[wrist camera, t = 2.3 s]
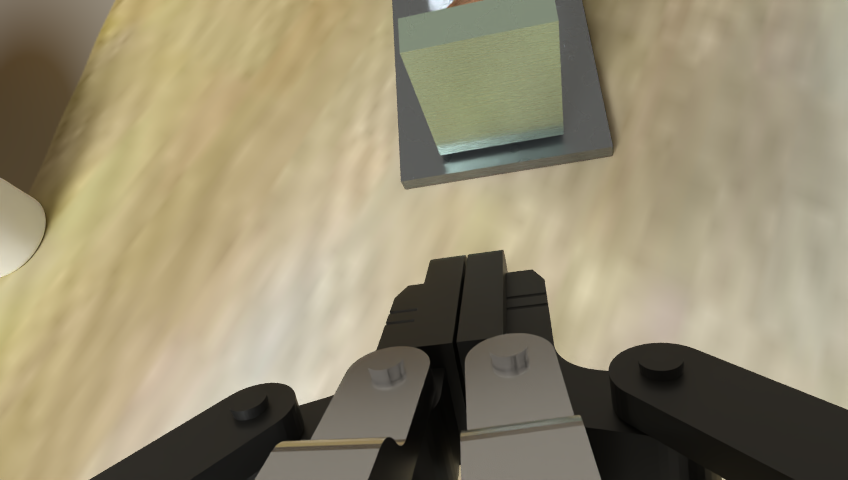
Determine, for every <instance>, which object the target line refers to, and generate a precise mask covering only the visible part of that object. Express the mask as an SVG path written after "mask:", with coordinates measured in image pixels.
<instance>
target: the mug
mask: <svg viewBox="0 0 848 480" xmlns="http://www.w3.org/2000/svg"><path fill="white" fill-rule="evenodd" d="M45 226H46V217H45V212H44V210H43V207H42V206H41V204H40V203H39V202H38V201H37V200H36V199H34V198H33V197H31V196H29V195H28V194H26V193H24V192H23V191H21V190H20V189H18V188H16V187H15V186H13V185H12V184H10V183H9V182H7V181H6V180H4V179H2V178H0V277H3V276H6V275H8V274H10V273H12V272H14V271H16V270H17V269H19V268H20V267H21V266H22V265H24V264H25V263H26V262H27V261H28V260H29V259H30V258H31V256H32V255H33V254H34V253H35V251H36V250H37V248H38V246H39V245H40V243H41V240H42V238H43V235H44V232H45Z"/></svg>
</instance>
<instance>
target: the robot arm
mask: <svg viewBox="0 0 848 480" xmlns="http://www.w3.org/2000/svg"><path fill="white" fill-rule="evenodd" d="M459 465H461V480H722V478H724V479H726V480H848V410H847V409H844V408H842V407H839V406H837V405H834V404H832V403H829V402H827V401H824V400H822V399H819V398H817V397H814V396H812V395H809V394H807V393H804V392H802V391H799V390H797V389H794V388H791V387H789V386H786V385H784V384H781V383H779V382H776V381H774V380H771V379H769V378H766V377H764V376H761V375H759V374H756V373H754V372H751V371H749V370H746V369H744V368H741V367H739V366H736V365H734V364H731V363H729V362H726V361H724V360H721V359H719V358H716V357H714V356H711V355H709V354H706V353H704V352H701V351H699V350H696V349H693V348H690V347H687V346H683V345H679V344H671V343H650V344H643V345H639V346H635V347H632V348H629V349H627V350H625V351H623V352H621V353H620V354H618V355H617V356H616V357H615V358H614V359H613V360H612V362H611V363H610V366H609V371H603V370H594V369H587V368H583V367H579V366H577V365H574V364H571V363H569V362H567V361H566V360H564V359H563V358H562V357H561V356H560V355H559V354H558V353H557V352H556V350H555V347H554V342H553V335H552V328H551V321H550V314H549V308H548V301H547V294H546V287H545V280H544V279H543V278H542V277H541V276H540V275H538V274H537V273H536V272H535V271H533V270H525V271H517V272H509V273H508V272H507V265H506V260H505V255H504V251H503V250H499V251H491V252H484V253H477V254H469V255H468V257H466V255H463V256H456V257H448V258H441V259H434V260H430V263H429V267H428V271H427V275H426V278H425V282H424V284H418V285H410V286H408V287H407V288H405V289H404V290H403V291H402V292H401V293H400V294H399V295H398V296H397V297H396V298H395V299H394V302H393V304H392V307H391V310H390V314H389V316H388V319H387V322H386V325H385V327H384V330H383V333H382V336H381V339H380V342H379V344H378V347H377V350H376V351H374V352H372V353H369V354H367V355H365V356H363V357H362V358H360V359H358V360H357V361H356V362H355V363H353V364H352V365H351V366H350V367H349V369H348V370H347V372H346V374H345V376H344V377H343V379H342V381H341V383H340V385H339V387H338V389H337V391H336V393H335V394H334V395H332V396H330V397H327V398H323V399H320V400H317V401H313V402H310V403H307V404H303V405H300V406H299V405H298V402H297V399H296V395H295V392H294V391H293V389H292V388H291V387H289V386H287V385H285V384H280V383H265V384H259V385H255V386H251V387H248V388H245V389H243V390H241V391H238V392H236V393H234V394H232V395H231V396H229V397H227V398H225V399H224V400H222V401H220V402H219V403H217V404H215V405H214V406H212V407H210V408H209V409H207V410H205V411H204V412H202V413H200V414H199V415H197V416H195V417H194V418H192V419H190V420H189V421H187V422H185V423H184V424H182V425H180V426H179V427H177V428H175V429H174V430H172V431H170V432H168V433H167V434H165V435H163V436H162V437H160V438H158V439H157V440H155V441H153V442H152V443H150V444H148V445H147V446H145V447H143V448H142V449H140V450H138V451H137V452H135V453H133V454H132V455H130V456H128V457H127V458H125V459H123V460H122V461H120V462H118V463H117V464H115V465H113V466H112V467H110V468H108V469H107V470H105V471H103V472H102V473H100V474H98V475H96V476H95V477H93V478H91V479H90V480H458V475H459ZM721 477H722V478H721Z"/></svg>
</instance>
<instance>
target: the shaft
mask: <svg viewBox="0 0 848 480" xmlns="http://www.w3.org/2000/svg"><path fill="white" fill-rule="evenodd" d="M398 30H399V49H400V55H401V57H402V60H403V63H404V65H405V68H406V70H407V73H408V75H409V78H410V80H411V83H412V85H413V88H414V90H415V93H416V95H417V98H418V101H419V103H420V106H421V108H422V111H423V113H424V116H425V118H426V121H427V123H428V126H429V128H430V131H431V133H432V136H433V138H434V141H435V144H436V146H437V149H438V151H439V154H440V155H445V154H451V153H457V152H463V151H469V150H475V149H480V148H486V147H492V146H498V145H504V144H510V143H516V142H521V141H527V140H533V139H539V138H545V137H551V136H557V135H563V134H564V129H563V107H562V85H561V63H560V41H559V20H558V15H557V10H556V4H555V0H453V2H452V3H451V4H450V5H449V6H448V7H447V8H445V9H440V10H436V11H431V12H426V13H422V14H417V15H412V16H408V17H403V18H398Z"/></svg>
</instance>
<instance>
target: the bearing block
mask: <svg viewBox="0 0 848 480" xmlns="http://www.w3.org/2000/svg"><path fill="white" fill-rule="evenodd" d="M452 2H453V0H392V5H393V26H394V46H395V67H396V88H397V108H398V129H399V150H400V170H401V182H402V184H403V186H404V188H405V189H411V188H418V187H424V186H430V185H436V184H442V183H448V182H455V181H461V180H467V179H473V178H479V177H485V176H492V175H498V174H504V173H510V172H516V171H522V170H529V169H535V168H541V167H547V166H553V165H559V164H566V163H572V162H578V161H584V160H590V159H596V158H603V157H609V156H612V152H613V145H612V140H611V135H610V130H609V126H608V121H607V116H606V111H605V107H604V102H603V97H602V93H601V88H600V83H599V78H598V74H597V69H596V64H595V59H594V55H593V50H592V45H591V41H590V36H589V31H588V26H587V22H586V17H585V12H584V7H583V3H582V0H555V4H556V10H557V15H558V20H559V41H560V63H561V85H562V107H563V129H564V134H563V135H557V136H551V137H545V138H539V139H533V140H527V141H521V142H516V143H510V144H504V145H498V146H492V147H486V148H480V149H475V150H469V151H463V152H457V153H451V154H445V155H440V154H439V151H438V149H437V146H436V144H435V141H434V138H433V136H432V133H431V131H430V128H429V126H428V123H427V121H426V118H425V116H424V113H423V111H422V108H421V106H420V103H419V101H418V98H417V95H416V93H415V90H414V88H413V85H412V83H411V80H410V78H409V75H408V73H407V70H406V68H405V65H404V63H403V60H402V57H401V55H400V49H399V30H398V18H403V17H408V16H412V15H417V14H422V13H426V12H431V11H436V10H440V9H445V8H447V7H448V6H449V5H450V4H451V3H452Z"/></svg>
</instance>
